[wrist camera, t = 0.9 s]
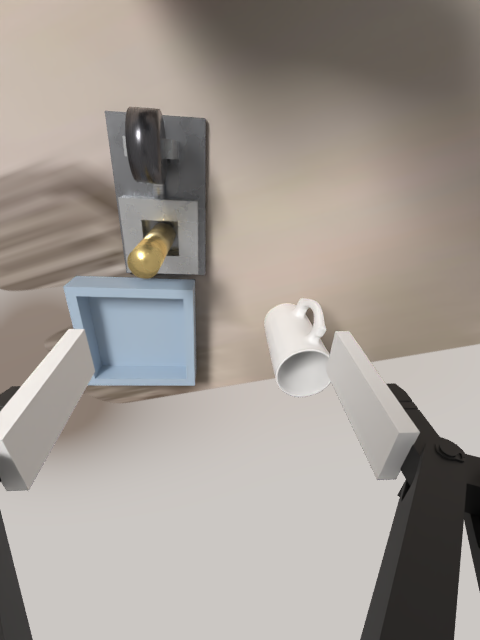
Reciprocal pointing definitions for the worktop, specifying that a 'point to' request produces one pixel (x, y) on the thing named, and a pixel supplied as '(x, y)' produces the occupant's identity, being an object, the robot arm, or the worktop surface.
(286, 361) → the mug
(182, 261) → the tensioner
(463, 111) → the worktop surface
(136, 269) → the pin
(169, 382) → the tray
